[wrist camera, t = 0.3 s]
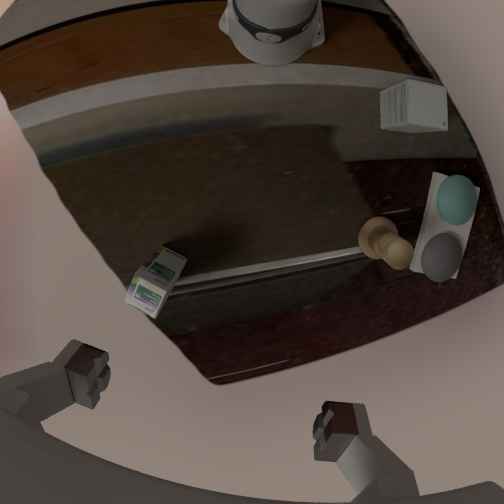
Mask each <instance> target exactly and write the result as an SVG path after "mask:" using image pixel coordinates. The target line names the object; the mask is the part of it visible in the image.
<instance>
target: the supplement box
mask: <svg viewBox="0 0 504 504" xmlns="http://www.w3.org/2000/svg"><path fill="white" fill-rule="evenodd" d="M380 113H381V129H385V130H392V131H400V132H408V133H420V132H434V131H448V112H447V93H446V87H443V86H439V85H435V84H431V83H427V82H422V81H417V80H412V79H407V80H405V81H402V82H400V83H398V84H396V85H393V86H391V87H389V88H387V89H385V90H383V91H381V92H380Z"/></svg>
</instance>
